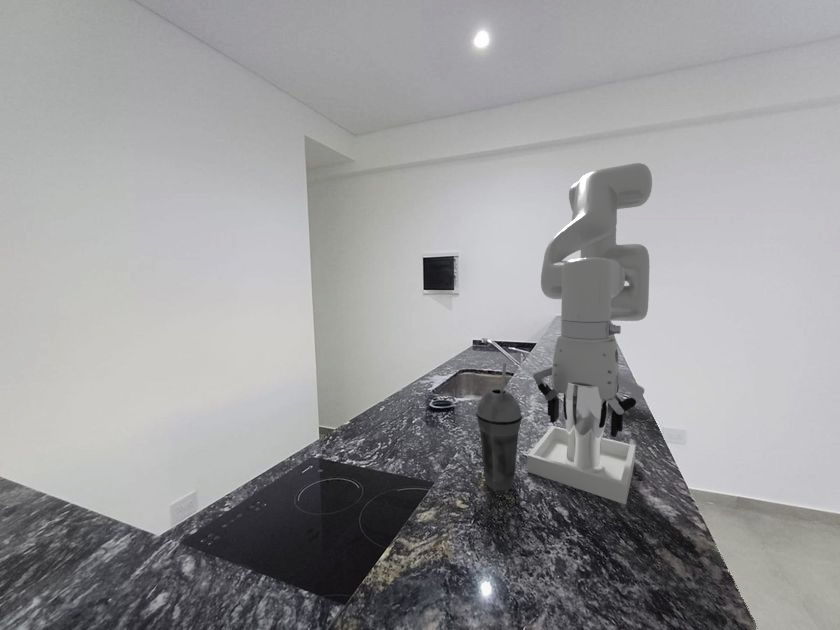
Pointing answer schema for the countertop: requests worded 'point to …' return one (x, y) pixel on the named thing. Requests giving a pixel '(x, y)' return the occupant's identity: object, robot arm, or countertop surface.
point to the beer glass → (584, 426)
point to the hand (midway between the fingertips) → (583, 426)
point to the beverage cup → (499, 435)
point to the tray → (605, 483)
